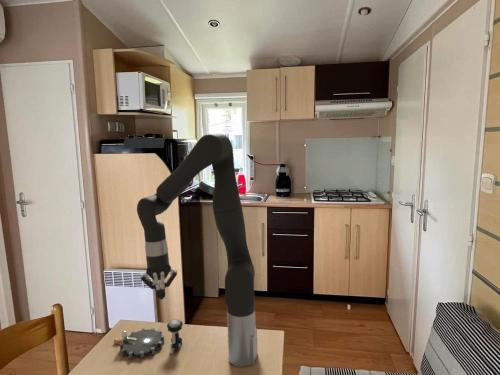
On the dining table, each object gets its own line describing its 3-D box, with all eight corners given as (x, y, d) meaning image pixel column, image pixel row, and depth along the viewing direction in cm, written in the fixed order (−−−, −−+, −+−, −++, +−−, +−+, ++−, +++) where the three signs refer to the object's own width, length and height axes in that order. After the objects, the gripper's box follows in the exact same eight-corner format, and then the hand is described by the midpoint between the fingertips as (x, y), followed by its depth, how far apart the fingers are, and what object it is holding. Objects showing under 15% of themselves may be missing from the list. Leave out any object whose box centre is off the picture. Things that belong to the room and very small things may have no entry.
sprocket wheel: (171, 335, 118) (170, 320, 117) (150, 361, 103) (149, 345, 103) (136, 330, 121) (134, 316, 120) (111, 356, 107) (109, 340, 106)
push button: (178, 356, 106) (176, 329, 105) (164, 354, 107) (162, 327, 106) (186, 344, 113) (184, 318, 111) (172, 342, 114) (171, 317, 113)
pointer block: (124, 341, 115) (123, 337, 115) (120, 344, 113) (120, 341, 113) (117, 340, 116) (116, 336, 116) (113, 343, 114) (113, 340, 114)
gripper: (135, 258, 105) (141, 306, 107) (175, 252, 107) (180, 300, 109) (138, 251, 112) (143, 296, 114) (176, 246, 115) (180, 291, 117)
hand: (161, 298), depth 112 cm, fingers closed
